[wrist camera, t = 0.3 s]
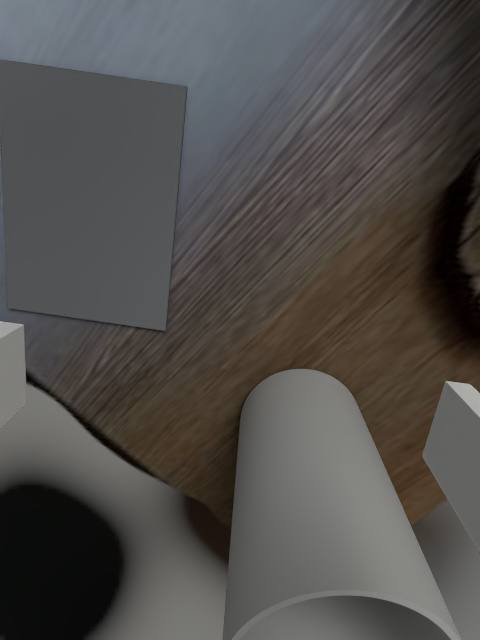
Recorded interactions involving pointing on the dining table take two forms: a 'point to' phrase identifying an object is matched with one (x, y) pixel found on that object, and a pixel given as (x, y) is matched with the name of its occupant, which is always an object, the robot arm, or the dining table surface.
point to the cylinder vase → (321, 526)
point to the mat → (89, 192)
